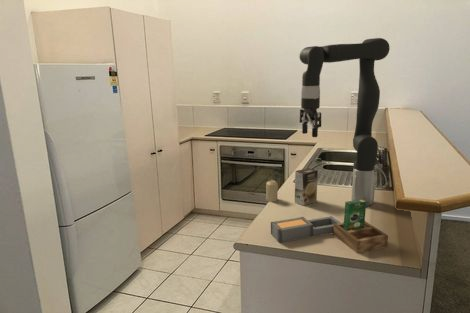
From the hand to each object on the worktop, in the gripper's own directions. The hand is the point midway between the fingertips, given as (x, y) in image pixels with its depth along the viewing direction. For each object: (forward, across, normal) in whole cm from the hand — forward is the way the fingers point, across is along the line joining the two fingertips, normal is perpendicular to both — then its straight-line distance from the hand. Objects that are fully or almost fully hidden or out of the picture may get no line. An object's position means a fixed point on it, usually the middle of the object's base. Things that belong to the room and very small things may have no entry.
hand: (309, 135), depth 151 cm
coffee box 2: (+35, +25, +6) cm, 43 cm away
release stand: (+36, +16, -9) cm, 41 cm away
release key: (+36, +16, -16) cm, 42 cm away
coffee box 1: (+36, -13, +6) cm, 39 cm away
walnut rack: (+36, +29, +6) cm, 47 cm away
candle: (+36, -22, -8) cm, 43 cm away
